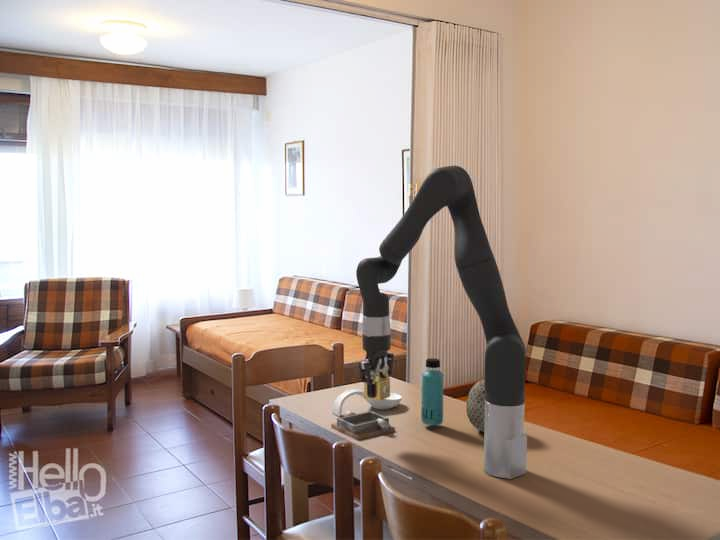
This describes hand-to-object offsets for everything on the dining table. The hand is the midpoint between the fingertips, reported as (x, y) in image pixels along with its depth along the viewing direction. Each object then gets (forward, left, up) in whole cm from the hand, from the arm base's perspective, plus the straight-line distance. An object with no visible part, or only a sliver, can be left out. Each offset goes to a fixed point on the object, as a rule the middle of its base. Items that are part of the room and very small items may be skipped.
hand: (377, 394), depth 177 cm
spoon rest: (+25, -16, -14) cm, 33 cm away
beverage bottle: (+1, -21, -13) cm, 25 cm away
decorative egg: (-11, -31, -13) cm, 35 cm away
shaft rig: (+11, -3, -13) cm, 17 cm away
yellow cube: (0, 0, -1) cm, 1 cm away
